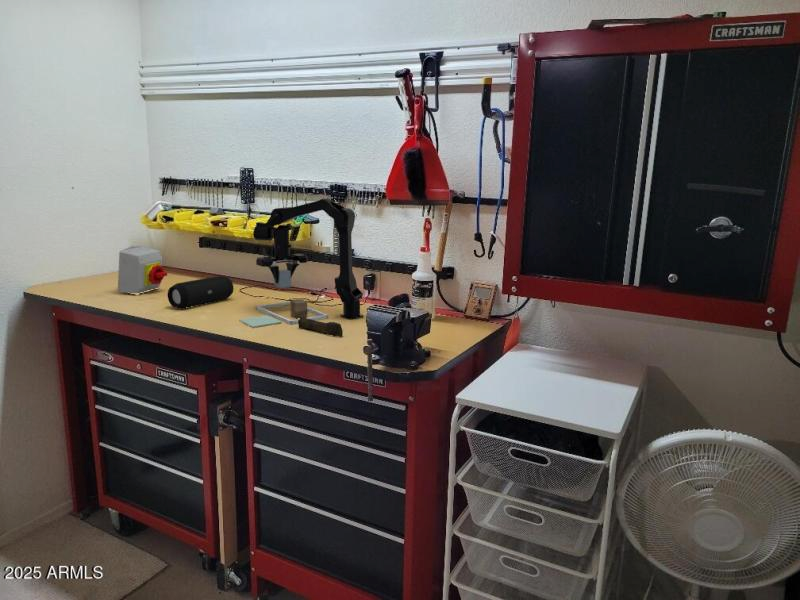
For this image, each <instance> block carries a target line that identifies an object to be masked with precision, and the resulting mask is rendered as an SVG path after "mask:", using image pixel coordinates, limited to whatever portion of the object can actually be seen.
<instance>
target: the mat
mask: <svg viewBox="0 0 800 600" xmlns="http://www.w3.org/2000/svg"><path fill="white" fill-rule="evenodd" d="M238 321H241V322H243V323H245V324H247V325H249V326H251V327H256V328H259V327H258V326H262V327H266V326H265V325H269V326H273V325H272V324H275V325H279V324H278V323H281V324H282V322H283V321H281V320H279V319H277V318H274V317H272V316H270V315H268V314H265V315H261V316H254V317H246V318H241V319H238ZM241 322H240V323H241ZM243 323H242V324H243ZM245 324H244V325H245ZM247 325H246V326H247ZM249 326H248V327H249ZM251 327H250V328H251Z"/></svg>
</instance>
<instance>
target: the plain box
mask: <svg viewBox="0 0 800 600" xmlns="http://www.w3.org/2000/svg"><path fill="white" fill-rule="evenodd" d="M289 301H290V305H289V306H290V318H293V317H294V318H293V319H295V318H296V319H295V320H297V319H298V318H301V317H307V318H308V311H307V307H308V301H306V300H305V299H302V298H300V299H294V300H289Z"/></svg>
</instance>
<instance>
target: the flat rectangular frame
mask: <svg viewBox="0 0 800 600" xmlns="http://www.w3.org/2000/svg"><path fill="white" fill-rule="evenodd" d="M290 301H291V300H289V301H283V302H275V303H268V304H261V305H255V310H256V311H259V312H261V313H263V312H264V314H265V315H268V316H270V317H272V316H273V317H272V318H274V317H275V318H274V319H277V320H279V319H280V320H279V321H281V320H282V321H281V322H283V321H284V322H283V323H286V324H288V323H289V324H288V325H290V324H291V325H296V324H295V323H297V324H298V320H299V319H293V320H291V319H288V318H286V317H284V316H281V314H277V313H275V312H273V311H271V310H268V309H270V308H276V307H282V306H283V307H284V306H290ZM307 312H309V313H311V314H314V315H316V316H312V317H311V316H310V317H307V319H312V320H315V321H320V319H321V320H326V318H327V319H329V314H326V313H325V312H321V311H318V310H316V309H313V308H311V307H308V306H307Z"/></svg>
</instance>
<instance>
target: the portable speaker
mask: <svg viewBox="0 0 800 600" xmlns="http://www.w3.org/2000/svg"><path fill="white" fill-rule="evenodd" d="M233 293H234V284H233V281H232V279H231V278H230V277H227V276H224V275H217V276H215V275H214V276H210V277H205V278H199V279H194V280H188V281H182V282H177V283H175V284H173V285H172V286H170V287H169V289H168V290H167V299H168V302H169V304H170V305H171V307H173V308H175V309H180V308H185V309H187V308H186V307H189V308H192V307H191V306H194V307H197V306H196V305H198V306H201V304H203V305H206V304H205V303H207V304H210V302H211V303H215V301H216V302H219V300H220V301H224V300H227V299H228V298H229V297H231V296H232V295H233Z"/></svg>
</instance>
